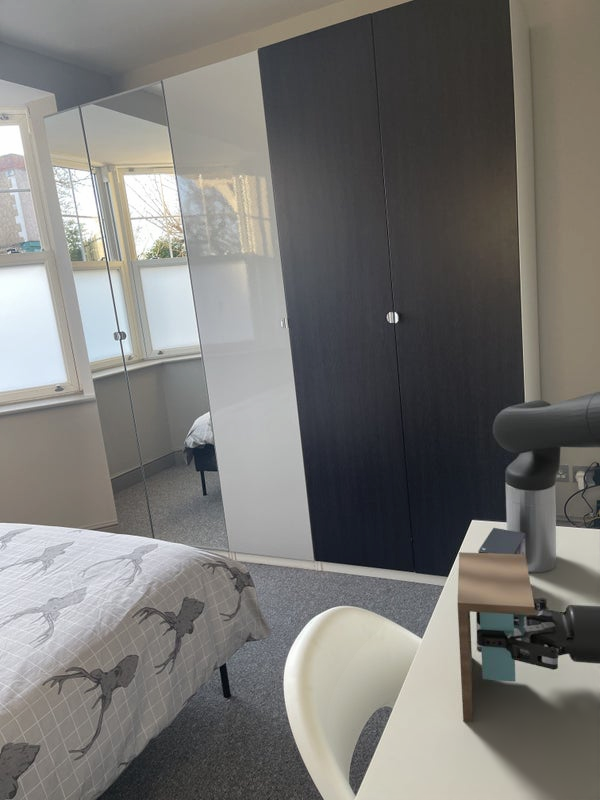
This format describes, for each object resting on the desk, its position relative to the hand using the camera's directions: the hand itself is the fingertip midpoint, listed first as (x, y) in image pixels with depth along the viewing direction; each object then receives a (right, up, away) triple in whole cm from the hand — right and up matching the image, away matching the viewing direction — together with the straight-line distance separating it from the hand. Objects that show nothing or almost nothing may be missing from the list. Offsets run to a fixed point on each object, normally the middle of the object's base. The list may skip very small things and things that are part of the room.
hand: (477, 626), depth 88 cm
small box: (+12, -3, +25) cm, 28 cm away
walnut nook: (+3, -9, 0) cm, 10 cm away
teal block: (+3, -7, +1) cm, 8 cm away
